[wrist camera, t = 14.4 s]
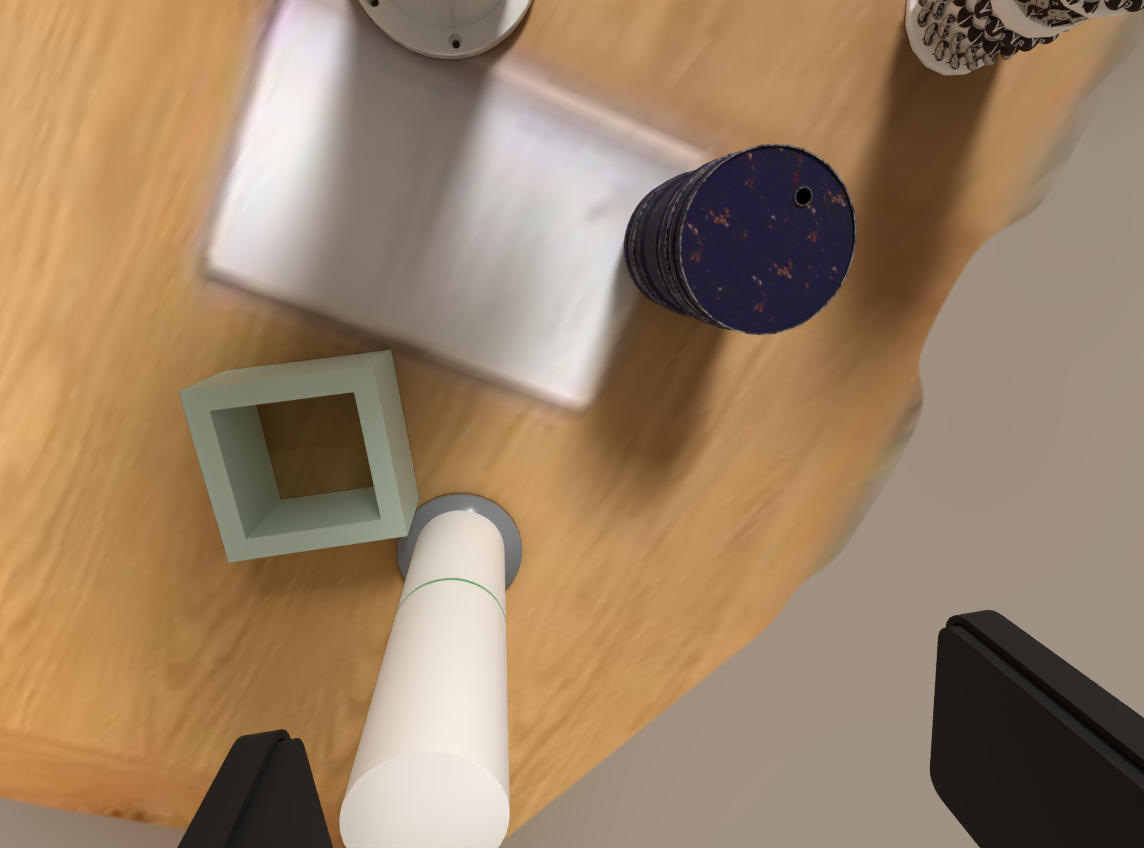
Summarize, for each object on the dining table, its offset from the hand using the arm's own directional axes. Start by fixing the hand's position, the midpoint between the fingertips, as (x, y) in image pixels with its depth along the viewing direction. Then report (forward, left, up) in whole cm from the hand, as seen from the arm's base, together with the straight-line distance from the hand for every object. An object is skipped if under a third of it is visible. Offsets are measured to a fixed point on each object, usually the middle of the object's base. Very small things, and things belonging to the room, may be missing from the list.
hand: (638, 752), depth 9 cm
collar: (+5, -16, -40) cm, 44 cm away
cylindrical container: (+16, -7, -40) cm, 43 cm away
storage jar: (-6, +13, -40) cm, 43 cm away
